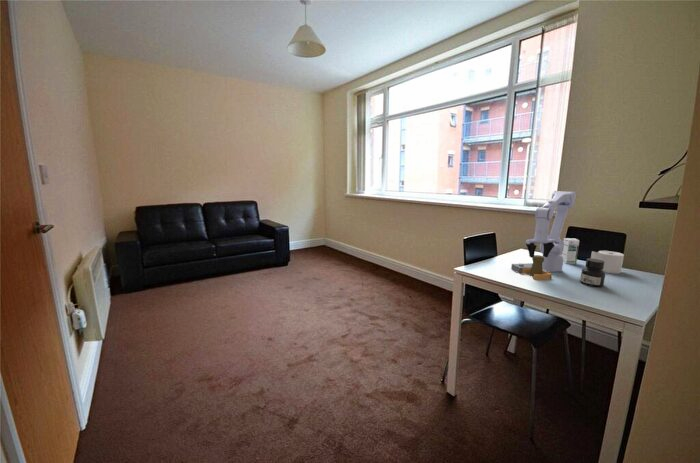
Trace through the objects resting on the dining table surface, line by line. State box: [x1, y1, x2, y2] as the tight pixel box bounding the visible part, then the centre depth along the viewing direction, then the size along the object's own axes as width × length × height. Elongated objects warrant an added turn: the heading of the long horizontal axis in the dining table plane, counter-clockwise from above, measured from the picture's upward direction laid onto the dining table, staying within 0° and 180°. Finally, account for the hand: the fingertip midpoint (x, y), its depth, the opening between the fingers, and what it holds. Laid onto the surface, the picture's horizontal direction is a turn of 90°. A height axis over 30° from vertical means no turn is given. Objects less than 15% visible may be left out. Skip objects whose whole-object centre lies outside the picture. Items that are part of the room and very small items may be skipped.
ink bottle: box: [579, 257, 606, 288], centre depth 143 cm, size 10×9×12 cm
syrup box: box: [561, 237, 580, 265], centre depth 177 cm, size 6×6×14 cm
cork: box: [528, 254, 544, 278], centre depth 154 cm, size 6×6×11 cm
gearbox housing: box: [510, 262, 553, 280], centre depth 158 cm, size 12×17×4 cm
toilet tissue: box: [590, 250, 625, 274], centre depth 163 cm, size 11×12×10 cm
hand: (538, 257), depth 153 cm, fingers open, 7 cm apart
